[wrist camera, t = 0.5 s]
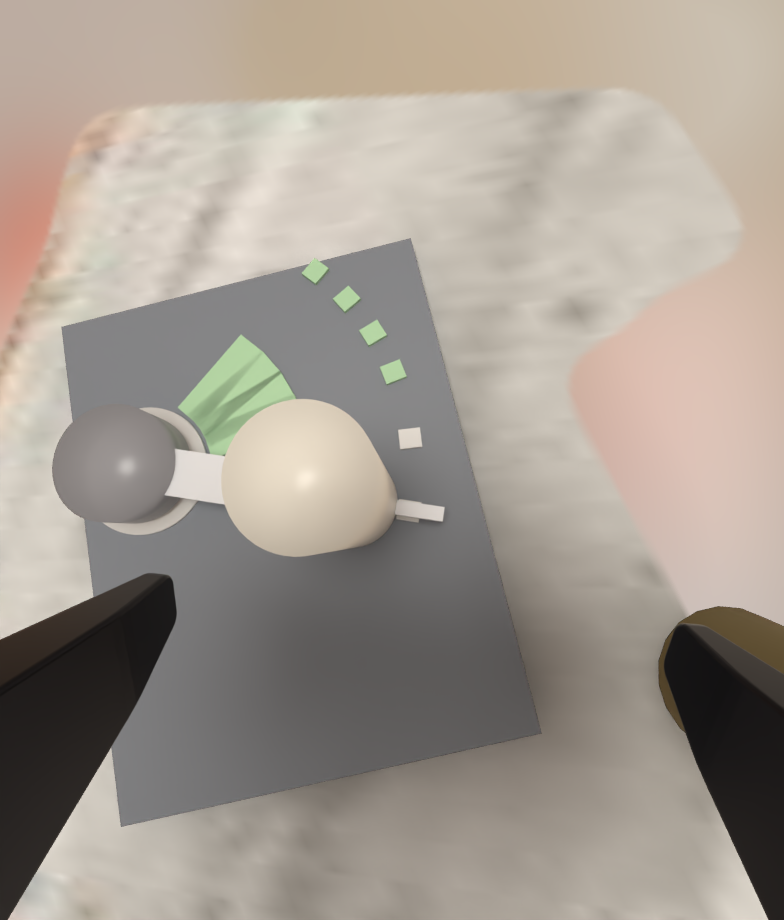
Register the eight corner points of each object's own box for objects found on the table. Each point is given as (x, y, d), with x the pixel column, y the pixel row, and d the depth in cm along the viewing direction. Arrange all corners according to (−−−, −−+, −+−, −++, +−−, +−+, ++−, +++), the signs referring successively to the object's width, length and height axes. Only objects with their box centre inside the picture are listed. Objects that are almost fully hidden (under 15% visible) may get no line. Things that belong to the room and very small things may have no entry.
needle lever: (74, 514, 22) (-171, 499, 13) (100, 408, 22) (-114, 324, 13) (434, 573, 20) (443, 604, 11) (450, 458, 21) (470, 401, 12)
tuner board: (535, 723, 20) (542, 735, 19) (135, 813, 21) (118, 829, 20) (410, 248, 24) (410, 233, 23) (75, 333, 25) (58, 323, 24)
